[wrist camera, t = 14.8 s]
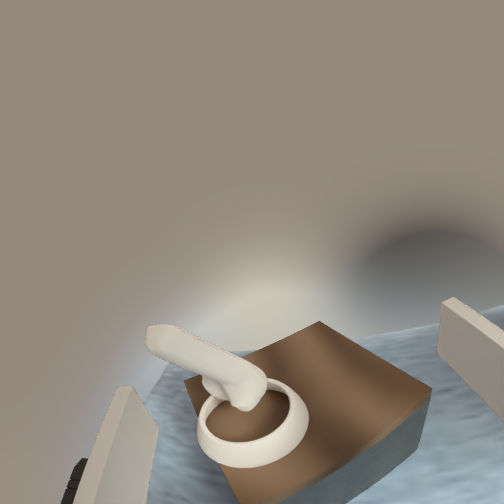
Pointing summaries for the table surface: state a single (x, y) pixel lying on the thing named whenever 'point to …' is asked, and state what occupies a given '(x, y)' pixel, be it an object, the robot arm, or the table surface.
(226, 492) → the table surface
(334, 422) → the block
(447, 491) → the table surface
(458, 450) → the table surface
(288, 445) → the white ring with handle
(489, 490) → the table surface
